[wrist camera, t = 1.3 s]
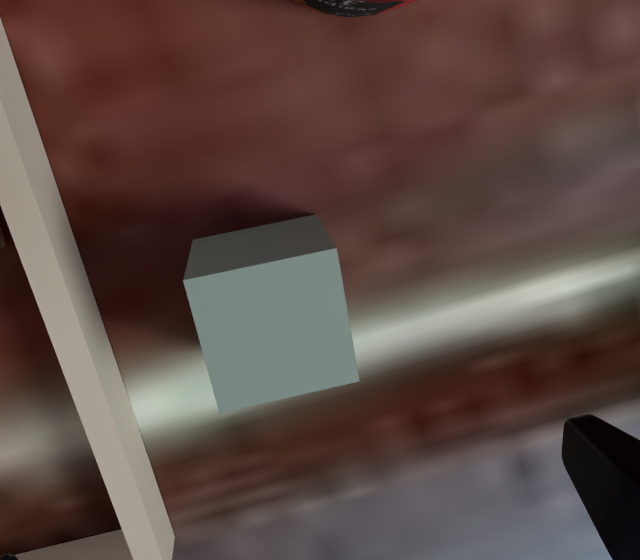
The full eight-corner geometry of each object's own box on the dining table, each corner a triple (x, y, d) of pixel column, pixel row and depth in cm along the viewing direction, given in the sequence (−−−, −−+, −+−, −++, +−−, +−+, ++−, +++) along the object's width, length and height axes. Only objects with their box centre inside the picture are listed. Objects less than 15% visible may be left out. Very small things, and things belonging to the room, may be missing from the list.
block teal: (335, 324, 22) (359, 381, 18) (222, 349, 22) (219, 413, 18) (315, 213, 21) (336, 248, 17) (192, 239, 20) (182, 280, 16)
